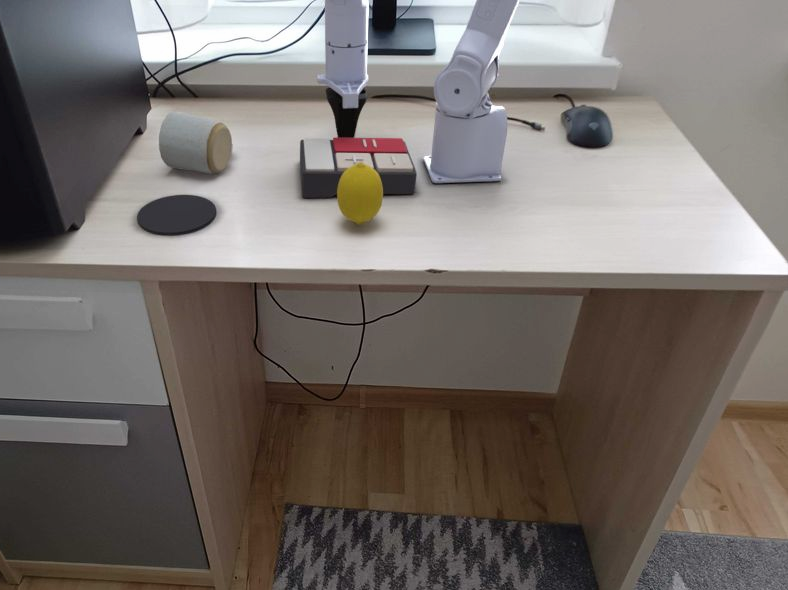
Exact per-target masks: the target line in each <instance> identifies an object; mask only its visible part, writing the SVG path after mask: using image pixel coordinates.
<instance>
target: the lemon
mask: <svg viewBox="0 0 788 590" xmlns="http://www.w3.org/2000/svg"><path fill="white" fill-rule="evenodd" d="M383 198H384V194H383V186H382V182H381V179H380V176H379V174H378V173H377V172H376V171H375V170H374V169H373V168H372V167H370V166H368V165H365V164H364V163H362V162H359V163H358V164H356V165H353V166H351V167H349V168H348V169H347V170H345V171H344V173H343V174H342V176H341V178H340V180H339V184H338V189H337V194H336V200H337V206H338V208H339V210H340V212H341V214H342V215H343V217H345V218H346V219H347V220H349V221H351V222H354V223H355V224H356V225H357V226H359V225H362V224H364V223H366V222H368V221H371V220H372V219H374V218H375V217H376V216H377V215H378V214H379V212H380V210H381V207H382V206H383V205H382V204H383V201H384V200H383Z"/></svg>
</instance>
